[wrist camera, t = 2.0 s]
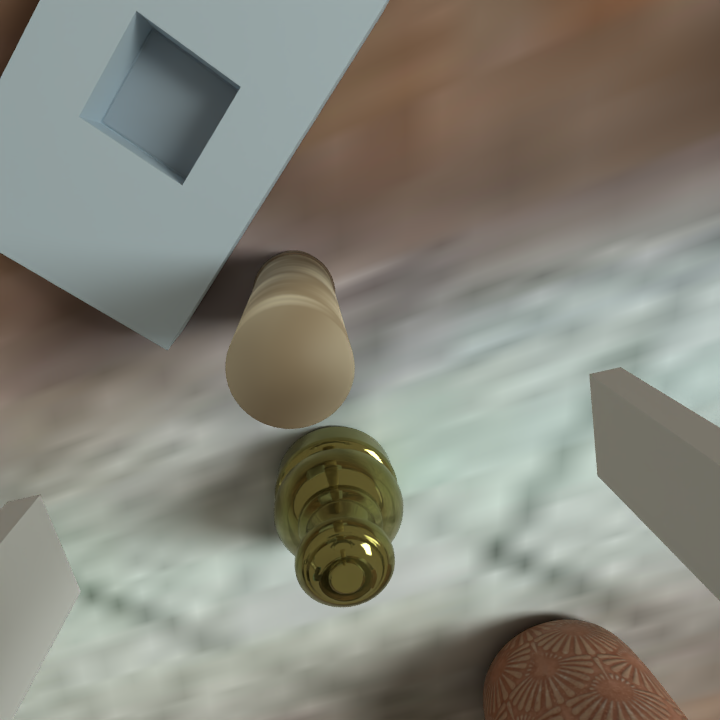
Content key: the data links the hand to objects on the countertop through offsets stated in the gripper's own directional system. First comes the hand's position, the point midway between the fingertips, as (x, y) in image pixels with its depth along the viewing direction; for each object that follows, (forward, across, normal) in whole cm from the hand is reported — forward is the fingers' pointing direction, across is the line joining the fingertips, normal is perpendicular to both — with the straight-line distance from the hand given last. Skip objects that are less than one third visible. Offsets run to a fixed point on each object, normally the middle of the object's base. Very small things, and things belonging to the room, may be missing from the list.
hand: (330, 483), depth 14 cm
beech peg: (+21, -1, +1) cm, 21 cm away
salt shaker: (+21, -1, -11) cm, 24 cm away
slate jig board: (+21, -5, +11) cm, 24 cm away
